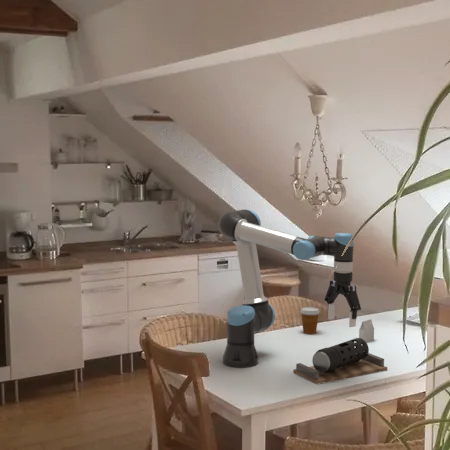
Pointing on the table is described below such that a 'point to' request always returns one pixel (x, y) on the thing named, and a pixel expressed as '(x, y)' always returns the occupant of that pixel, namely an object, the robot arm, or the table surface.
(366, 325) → the grey paper bag
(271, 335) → the table surface
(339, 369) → the mounting board
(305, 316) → the disposable coffee cup
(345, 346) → the muzzle brake
